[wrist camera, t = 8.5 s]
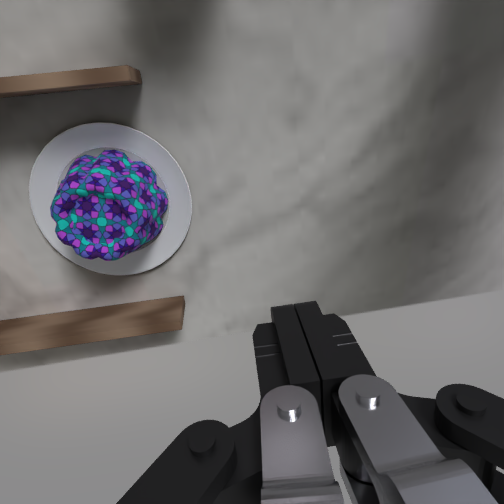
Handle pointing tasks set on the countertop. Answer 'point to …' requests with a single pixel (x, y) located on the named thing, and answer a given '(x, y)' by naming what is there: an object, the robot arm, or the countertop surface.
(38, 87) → the box
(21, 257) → the countertop surface
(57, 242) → the pudding
